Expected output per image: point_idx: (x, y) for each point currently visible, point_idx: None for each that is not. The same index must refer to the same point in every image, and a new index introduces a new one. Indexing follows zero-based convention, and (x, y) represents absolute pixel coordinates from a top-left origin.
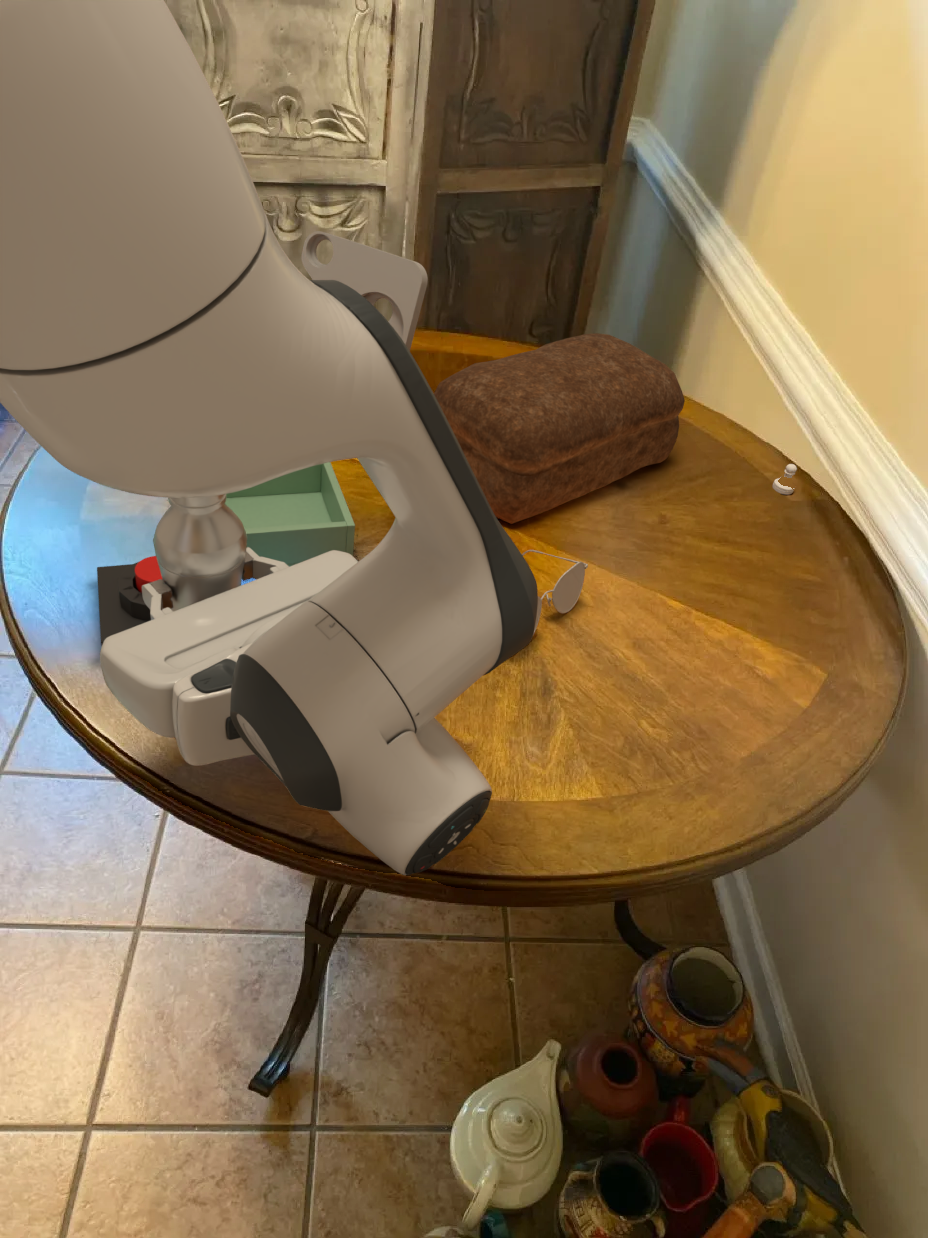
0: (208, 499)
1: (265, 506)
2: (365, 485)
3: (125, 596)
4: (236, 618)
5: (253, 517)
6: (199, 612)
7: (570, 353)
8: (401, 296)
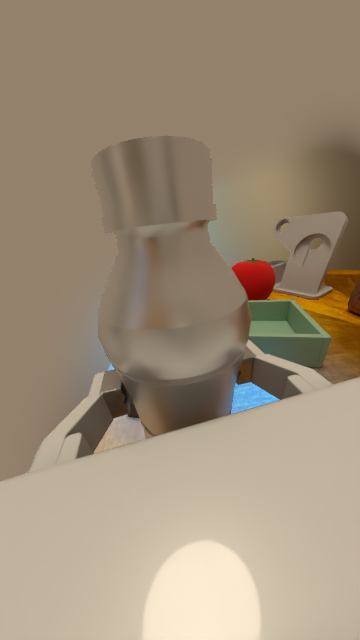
0: (159, 179)
1: (253, 325)
2: (313, 319)
3: None
4: (189, 636)
5: None
6: (90, 505)
7: None
8: (330, 231)
